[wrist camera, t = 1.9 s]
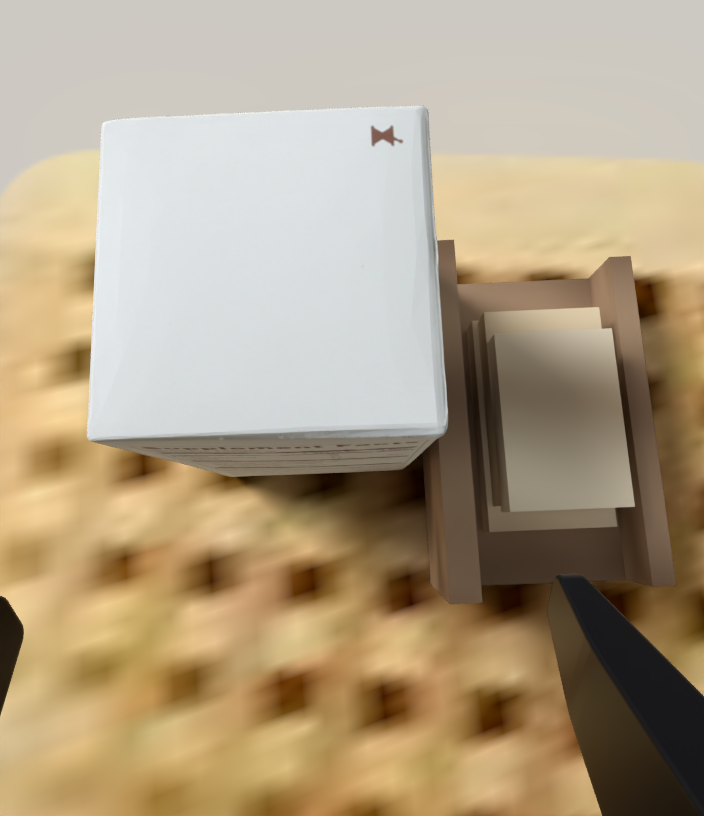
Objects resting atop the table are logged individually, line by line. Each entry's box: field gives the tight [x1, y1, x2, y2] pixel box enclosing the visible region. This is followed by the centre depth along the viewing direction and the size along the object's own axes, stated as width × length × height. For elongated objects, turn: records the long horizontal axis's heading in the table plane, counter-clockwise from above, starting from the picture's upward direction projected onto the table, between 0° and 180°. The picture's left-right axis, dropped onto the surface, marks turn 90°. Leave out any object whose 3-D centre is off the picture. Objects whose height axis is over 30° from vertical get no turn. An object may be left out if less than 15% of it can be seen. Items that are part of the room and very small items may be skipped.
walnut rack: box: [422, 240, 676, 604], centre depth 21 cm, size 12×8×5 cm, turn 2°
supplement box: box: [87, 105, 448, 477], centre depth 18 cm, size 7×7×13 cm
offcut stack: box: [467, 307, 635, 532], centre depth 21 cm, size 8×5×4 cm, turn 2°
